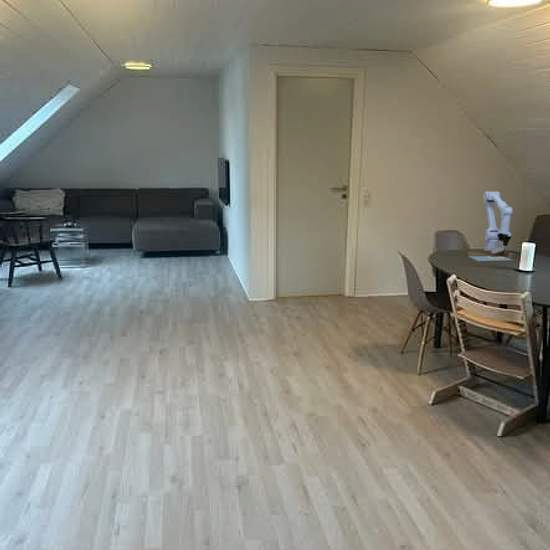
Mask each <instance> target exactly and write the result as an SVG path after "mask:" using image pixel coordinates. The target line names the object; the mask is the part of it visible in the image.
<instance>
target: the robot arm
mask: <svg viewBox="0 0 550 550" xmlns="http://www.w3.org/2000/svg"><path fill="white" fill-rule="evenodd" d="M482 201H483V205H485V210H486V216H487V217H486V218H487V224H488V225H487V226H488V228H487V229H485V233H484V234H485V235H484V239H485V242H484V248H483V249H484V250H483V251H485V250H490V249H493V248H496V247H499V240H503V245H504V246H506V247H508V245H509V242H510V240H511V238H512V233H511V232H510V228H511V219H512V216H513V214H514V209H513V207H511V206H509V205H508V204H507V203H506V202H505V201H504V200H502V198H501V193H500V191H484V192H483V196H482ZM495 205H496V207H497V208H498V210H499V212H500V213H499V214H500V219H501V220H500V228H499V227H498V226H497V222H496V221H497V220H496V214H495Z"/></svg>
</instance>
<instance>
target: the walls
mask: <svg viewBox="0 0 550 550" xmlns="http://www.w3.org/2000/svg"><path fill="white" fill-rule="evenodd" d="M468 256H504V257H507V258H509V259H512V260H511V261H516V258H517V255H516V254H515V253H512V252H509V251H507V250H503V251H500V252H497V253H493V254H492V253H490V252H489V250H485V251H484V250H467V257H468Z"/></svg>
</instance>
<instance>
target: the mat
mask: <svg viewBox="0 0 550 550" xmlns="http://www.w3.org/2000/svg"><path fill="white" fill-rule="evenodd" d="M467 257H469V258H471V259H472V260H475V261H478V262H482V261H483V262H488V261H489V262H493V261H513V260H512V259H509V258H507V257H504V256H467Z"/></svg>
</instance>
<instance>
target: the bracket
mask: <svg viewBox="0 0 550 550" xmlns="http://www.w3.org/2000/svg"><path fill="white" fill-rule="evenodd" d="M503 250H505V251H507V246H504V245H503V240H499V242H498V247H496V248H493V249H490V250H489V252H490V253H492V254H493V253H497V252H500V251H503Z"/></svg>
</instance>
